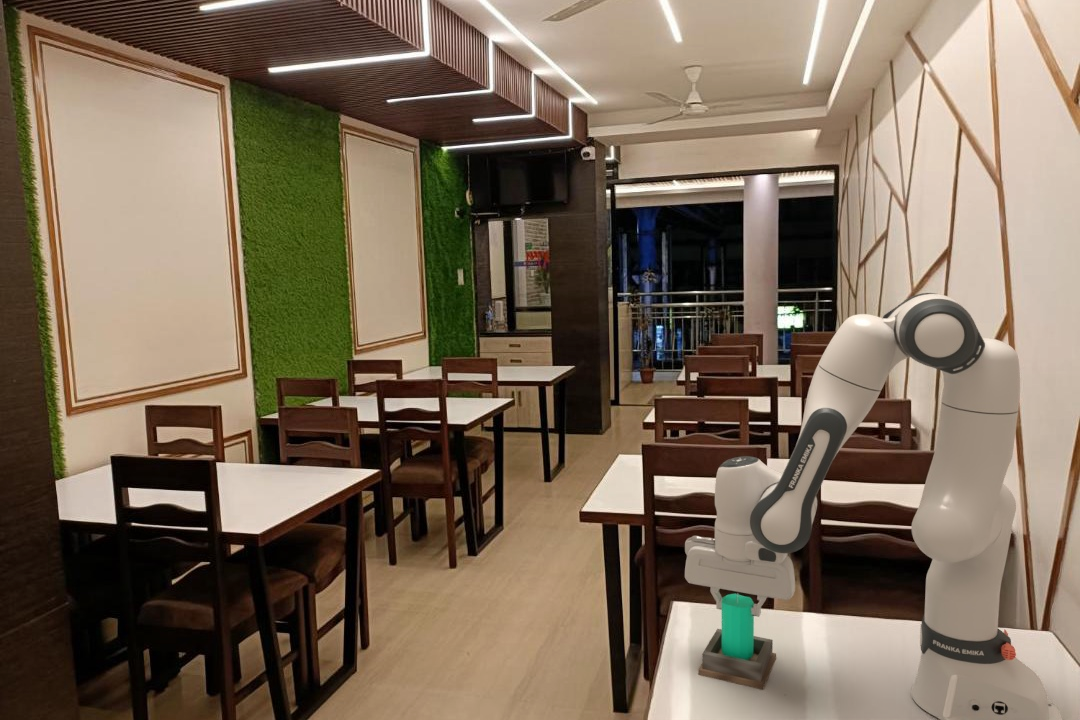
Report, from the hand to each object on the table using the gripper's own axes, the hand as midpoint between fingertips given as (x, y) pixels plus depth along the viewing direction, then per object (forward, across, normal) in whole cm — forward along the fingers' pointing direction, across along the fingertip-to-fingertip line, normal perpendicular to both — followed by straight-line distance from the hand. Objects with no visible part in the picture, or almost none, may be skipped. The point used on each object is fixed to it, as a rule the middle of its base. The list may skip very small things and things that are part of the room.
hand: (738, 611), depth 146 cm
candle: (+8, 0, 0) cm, 9 cm away
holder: (+11, 0, 0) cm, 11 cm away
